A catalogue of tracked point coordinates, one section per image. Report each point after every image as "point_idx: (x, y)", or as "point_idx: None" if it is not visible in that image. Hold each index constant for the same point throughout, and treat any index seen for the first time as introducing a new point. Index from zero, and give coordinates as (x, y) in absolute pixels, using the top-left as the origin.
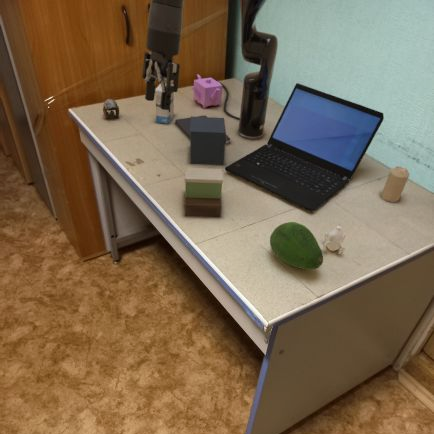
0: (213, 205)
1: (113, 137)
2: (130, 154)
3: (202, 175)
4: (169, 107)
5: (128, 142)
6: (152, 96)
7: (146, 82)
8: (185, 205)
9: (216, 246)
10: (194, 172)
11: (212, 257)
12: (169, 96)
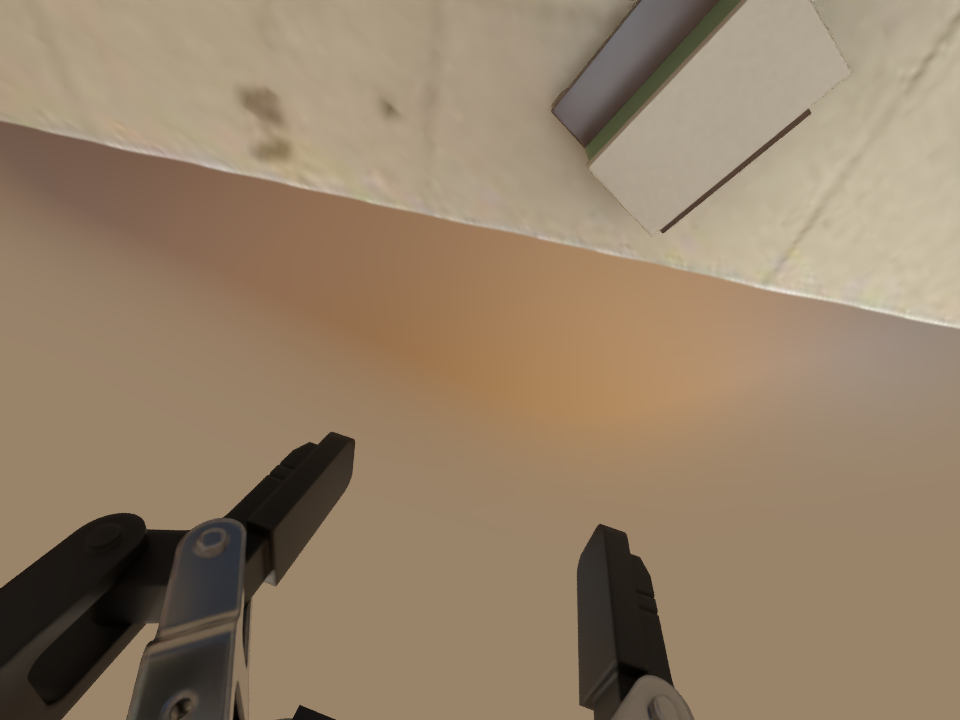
0: (772, 144)
1: (42, 69)
2: (199, 101)
3: (709, 145)
4: (627, 543)
5: (88, 34)
6: (338, 468)
7: (252, 597)
8: (663, 231)
9: (839, 247)
10: (654, 159)
11: (846, 290)
12: (659, 670)
